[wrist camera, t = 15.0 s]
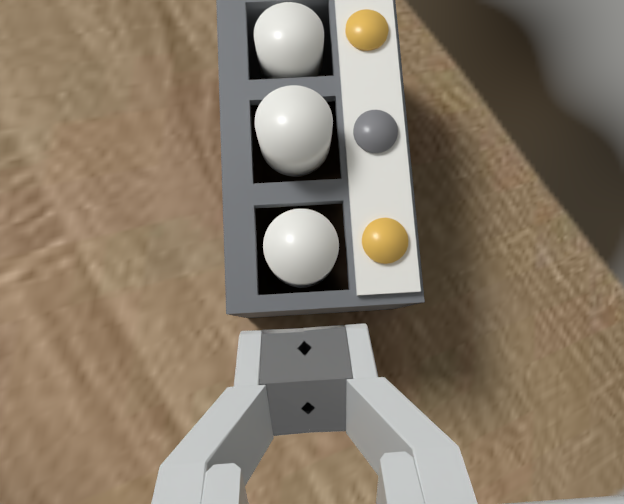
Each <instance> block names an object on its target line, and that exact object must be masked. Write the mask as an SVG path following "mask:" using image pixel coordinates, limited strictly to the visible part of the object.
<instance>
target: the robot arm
mask: <svg viewBox="0 0 624 504" xmlns="http://www.w3.org/2000/svg"><path fill="white" fill-rule="evenodd" d="M309 429H310V430H309ZM333 431H346V433H347V435H348V436H349V437H350V439H351V440H352V441H353V443H354V444H355V445H356V447H357V448H358V449H359V451H360V452H361V453H362V454H363V456H364V457H365V458H366V460H367V461H368V462H369V464H370V465H371V466H372V468H373V469H374V470H375V472H376V473H377V474H378V487H377V498H376V504H478V503H477V500H476V497H475V494H474V491H473V488H472V485H471V482H470V479H469V476H468V473H467V470H466V467H465V464H464V461H463V458H462V455H461V452H460V449H459V446H458V445H457V444H455V443H454V442H453V441H452V440H451V439H450V438H449V437H448V436H447V435H446V434H445V433H444V432H443V431H442V430H441V429H439V428H438V427H437V426H436V425H435V424H434V423H433V422H432V421H431V420H430V419H429V418H428V417H427V416H426V415H425V414H423V413H422V412H421V411H420V410H419V409H418V408H417V407H416V406H415V405H414V404H413V403H412V402H411V401H410V400H409V399H407V398H406V397H405V396H404V395H403V394H402V393H401V392H400V391H399V390H398V389H397V388H396V387H395V386H394V385H393V384H391V383H390V382H389V381H388V380H387V379H386V378H385V377H378V374H377V369H376V364H375V359H374V354H373V350H372V345H371V340H370V335H369V330H368V326H367V325H366V324H351V325H345V326H344V325H338V326H324V327H310V328H298V329H272V330H258V331H241V333H240V335H239V342H238V352H237V361H236V371H235V381H234V387H227V388H226V390H225V391H224V392H223V393H222V394H221V395H220V397H219V398H218V399H217V400H216V401H215V402H214V404H213V405H212V406H211V407H210V408H209V409H208V411H207V412H206V413H205V414H204V415H203V416H202V418H201V419H200V420H199V421H198V422H197V423H196V425H195V426H194V427H193V428H192V429H191V430H190V432H189V433H188V434H187V435H186V436H185V437H184V439H183V440H182V441H181V442H180V443H179V444H178V446H177V447H176V448H175V449H174V450H173V451H172V453H171V454H170V455H169V456H168V457H167V458H166V460H165V461H164V462H163V463H162V464H161V465H160V468H159V472H158V477H157V481H156V486H155V490H154V494H153V499H152V503H151V504H249V503H248V499H247V494H246V490H245V485H246V484H247V482H248V480H249V479H250V477H251V475H252V474H253V472H254V470H255V468H256V467H257V465H258V463H259V462H260V460H261V458H262V457H263V455H264V453H265V452H266V450H267V448H268V447H269V445H270V443H271V441H272V440H273V436H277V435H287V434H298V433H309V432H333ZM507 504H624V495H620V496H606V497H591V498H577V499H563V500H549V501H535V502H521V503H507Z"/></svg>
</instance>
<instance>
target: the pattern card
mask: <svg viewBox="0 0 624 504" xmlns="http://www.w3.org/2000/svg"><path fill="white" fill-rule="evenodd" d="M335 14H336V27H337V40H338V54H339V67H340V80H341V94H342V107H343V120H344V133H345V147H346V160H347V173H348V187H349V200H350V213H351V227H352V240H353V253H354V267H355V280H356V293H357V296H359V295H376V294H393V293H409V292H421V288H420V277H419V267H418V257H417V246H416V236H415V226H414V215H413V205H412V194H411V184H410V174H409V163H408V153H407V143H406V132H405V122H404V112H403V101H402V91H401V81H400V70H399V60H398V49H397V39H396V29H395V18H394V8H393V0H335Z"/></svg>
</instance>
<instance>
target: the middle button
mask: <svg viewBox="0 0 624 504" xmlns="http://www.w3.org/2000/svg"><path fill="white" fill-rule="evenodd" d="M332 128H333V117H332V112H331V109H330V107H329V105H328V104H327V102H326V101H325V99H324V98H323V97H322V96H321V95H320V94H318V93H317V92H316V91H314V90H312V89H310V88H307V87H304V86H298V85H290V86H284V87H281V88H278V89H276V90H274V91H272V92H271V93H269V94H268V95H267V96H266V97H265V98H264V99H263V100H262V101H261V103H260V104H259V106H258V108H257V111H256V114H255V130H256V134H257V138H258V142H259V145H260V149H261V153H262V156H263V158H264V160H265V161H266V163H267V164H268V165H269V166H270V167H271V168H272V169H273V170H275V171H277V172H278V173H280V174H283V175H286V176H292V177H298V176H304V175H307V174H310V173H312V172H314V171H315V170H317V169H318V168H319V167H320V166H321V165H322V164H323V163H324V162H325V160H326V158H327V156H328V154H329V150H330V143H331V136H332Z"/></svg>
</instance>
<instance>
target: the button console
mask: <svg viewBox="0 0 624 504" xmlns="http://www.w3.org/2000/svg"><path fill="white" fill-rule="evenodd" d="M283 2H294V3H299V4H302V5H305V6H307V7H309V8H310V9H311V10H313V11H314V12H315V13H316V14H317V15H318V17H319V18H320V20H321V22H322V25H323V28H324V46H323V63H322V69H321V72H320V74H319V75H329V74H333V76H318V77H298V78H278V79H259V80H250V78H264V77H263V75H262V74H261V71H260V68H259V63H258V58H257V52H256V47H255V41H254V28H255V24H256V22H257V20H258V18H259V17H260V15H261V14H262V13H263V12H264V11H265V10H266V9H268V8H269V7H271V6H273V5H276V4H279V3H283ZM393 8H394V18H395V29H396V39H397V49H398V60H399V70H400V81H401V91H402V101H403V112H404V122H405V132H406V143H407V153H408V163H409V174H410V184H411V194H412V205H413V215H414V226H415V236H416V246H417V257H418V267H419V277H420V288H421V292H409V293H393V294H376V295H359V296H357V293H356V280H355V267H354V253H353V240H352V227H351V213H350V200H349V187H348V173H347V160H346V147H345V133H344V120H343V107H342V94H341V80H340V67H339V54H338V40H337V27H336V14H335V0H217V32H218V64H219V96H220V128H221V159H222V191H223V223H224V255H225V287H226V314H229V315H234V316H239V317H245V318H255V317H272V316H288V315H305V314H321V313H338V312H354V311H371V310H388V309H397V308H401V307H406V306H410V305H414V304H419V303H423V302H425V301H424V291H423V281H422V271H421V260H420V250H419V240H418V230H417V219H416V209H415V199H414V189H413V178H412V168H411V158H410V147H409V137H408V127H407V117H406V106H405V96H404V86H403V76H402V65H401V55H400V45H399V35H398V24H397V14H396V4H395V0H393ZM290 85H298V86H304V87H307V88H310V89H312V90H314V91H316V92H317V93H318V94H320V95H321V96H322V97H323V98H324V99H325V101H326V102H330V101H335V107H336V121H337V135H338V148H339V162H340V176H341V179H328V180H310V181H291V182H273V183H255V184H254V172H253V148H252V125H251V106H253V105H259V104H260V103H261V101H262V100H263V99H264V98H265V97H266V96H267V95H268V94H269V93H271V92H272V91H274V90H276V89H278V88H281V87H284V86H290ZM341 203H343V217H344V231H345V245H346V259H347V272H348V286H349V290H337V291H320V292H303V293H286V294H270V295H259V290H258V266H257V243H256V219H255V208H270V207H288V206H306V205H324V204H341Z"/></svg>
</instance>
